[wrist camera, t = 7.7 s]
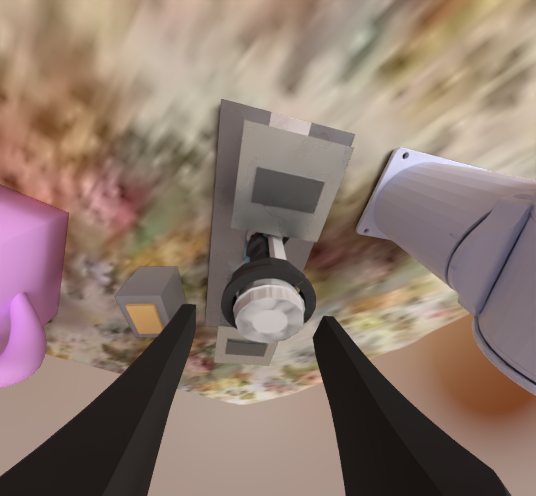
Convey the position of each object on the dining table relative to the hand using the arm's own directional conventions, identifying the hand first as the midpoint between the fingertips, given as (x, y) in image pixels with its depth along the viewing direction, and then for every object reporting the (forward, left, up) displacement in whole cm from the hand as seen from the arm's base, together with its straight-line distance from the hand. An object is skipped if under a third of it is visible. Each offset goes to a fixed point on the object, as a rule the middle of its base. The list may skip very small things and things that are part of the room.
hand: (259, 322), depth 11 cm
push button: (0, 0, -10) cm, 10 cm away
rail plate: (-1, +2, -10) cm, 11 cm away
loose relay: (+9, +9, -11) cm, 17 cm away
